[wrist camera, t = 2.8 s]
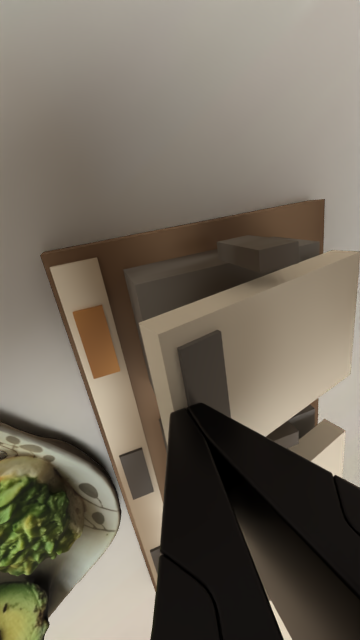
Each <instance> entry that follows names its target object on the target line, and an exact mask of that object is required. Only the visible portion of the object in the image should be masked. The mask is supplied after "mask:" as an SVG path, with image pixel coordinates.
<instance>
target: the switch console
mask: <svg viewBox="0 0 360 640" xmlns="http://www.w3.org/2000/svg"><path fill="white" fill-rule="evenodd" d="M324 207H325V199H322V200H309V201H304V202H299V203H293V204H288V205H283V206H278V207H273V208H268V209H263V210H257V211H252V212H247V213H242V214H237V215H232V216H227V217H221V218H216V219H211V220H206V221H201V222H196V223H191V224H185V225H180V226H175V227H170V228H165V229H160V230H155V231H150V232H144V233H139V234H134V235H129V236H124V237H119V238H114V239H108V240H103V241H98V242H93V243H88V244H83V245H78V246H72V247H67V248H62V249H57V250H52V251H47V252H43V253H42V254H41V255H40V256H41V259H42V262H43V265H44V268H45V270H46V273H47V276H48V279H49V282H50V285H51V288H52V291H53V294H54V297H55V300H56V303H57V305H58V308H59V311H60V314H61V317H62V320H63V323H64V326H65V329H66V332H67V335H68V338H69V340H70V343H71V346H72V349H73V352H74V355H75V358H76V361H77V364H78V367H79V370H80V373H81V376H82V378H83V381H84V384H85V387H86V390H87V393H88V396H89V399H90V402H91V405H92V408H93V411H94V413H95V416H96V419H97V422H98V425H99V428H100V431H101V434H102V437H103V440H104V443H105V446H106V448H107V451H108V454H109V457H110V460H111V463H112V466H113V469H114V472H115V475H116V478H117V481H118V483H119V486H120V489H121V492H122V495H123V498H124V501H125V504H126V507H127V510H128V513H129V516H130V518H131V521H132V524H133V527H134V530H135V533H136V536H137V539H138V542H139V545H140V548H141V551H142V553H143V556H144V559H145V562H146V565H147V568H148V571H149V574H150V577H151V580H152V583H153V586H154V589H155V591H156V587H157V576H158V563H159V556H160V539H161V526H162V513H163V499H164V486H165V472H166V459H167V442H166V438H165V434H164V429H163V425H162V421H161V417H160V412H159V408H158V404H157V399H156V395H155V391H154V387H153V382H152V378H151V374H150V369H149V365H148V361H147V356H146V352H145V348H144V344H143V339H142V335H141V331H140V326H139V323H140V322H142V321H145V320H148V319H150V318H153V317H156V316H158V315H161V314H163V313H166V312H169V311H171V310H174V309H177V308H179V307H182V306H185V305H187V304H190V303H193V302H195V301H198V300H201V299H203V298H206V297H209V296H211V295H214V294H217V293H219V292H222V291H225V290H227V289H230V288H233V287H235V286H238V285H241V284H243V283H246V282H249V281H251V280H254V279H257V278H259V277H262V276H265V275H267V274H270V273H273V272H275V271H278V270H281V269H283V268H286V267H289V266H291V265H294V264H298V263H299V262H302V261H305V260H307V259H310V258H313V257H315V256H318V255H321V254H323V238H324ZM317 425H318V399H316V400H315V401H313V402H312V403H311V404H309V405H308V406H307V407H305V408H304V409H303V410H301V411H300V412H298V413H297V414H296V415H294V416H293V417H292V418H290V419H289V420H288V421H286V422H285V423H284V424H282V425H281V426H279V427H278V428H277V429H275V430H274V431H273V432H271V433H270V434H269V435H267V436H266V437H267V438H269V439H271V440H272V441H274V442H276V443H278V444H280V445H282V446H283V447H285V448H287V449H288V448H290V447H292V446H295V445H297V444H299V439H300V438H302V437H303V436H304V435H305V434H307V433H308V432H309V431H310V430H312V429H313V428H314V427H315V426H317Z"/></svg>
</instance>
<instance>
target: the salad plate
mask: <svg viewBox="0 0 360 640" xmlns="http://www.w3.org/2000/svg"><path fill="white" fill-rule="evenodd" d="M0 450H1V451H3V452H6V453H7V456H6V457H5V459H2V460H0V640H44V636H45V633H46V631H47V629H48V628H49V621H48V618H49V617H50V615H51V614H52V613H53V612H54V611H55V610H56V608H57V607H58V606H59V604H60V603H61V602H62V601H63V599H64V598H65V597H66V596H67V595H68V594H69V592H70V591H71V590H72V589H73V587H74V586H75V585H76V584H77V583H78V582H79V581H80V580H81V579H82V578H83V577H84V576H85V575H86V573H87V572H88V571H89V569H90V568H91V567H92V566H93V565H94V564H95V563H96V562H97V561H98V560H99V558H100V557H101V556H102V555H103V553H104V552H105V551H106V549H107V548H108V547H109V545H110V544H111V542H112V540H113V539H114V537H115V535H116V533H117V531H118V529H119V525H120V520H121V508H120V503H119V498H118V494H117V491H116V488H115V486H114V484H113V482H112V480H111V479H110V477H109V476H108V474H107V472H106V471H105V470H104V469H103V468H102V467H101V466H100V465H99V464H97V463H96V462H95V461H94V460H92V459H91V458H90V457H89V456H88V455H86V454H85V453H84V452H82V451H81V450H80V449H78V448H76V447H74V446H72V445H71V444H69V443H67V442H64V441H61V440H57V439H53V438H44V437H39V436H36V435H33V434H29V433H27V432H24V431H21V430H18V429H16V428H14V427H11V426H9V425H7V424H4V423H1V422H0Z"/></svg>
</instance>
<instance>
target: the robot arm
mask: <svg viewBox="0 0 360 640" xmlns="http://www.w3.org/2000/svg"><path fill="white" fill-rule="evenodd" d="M264 588H265V590H266V592H267V594H268V596H269V598H270V600H271V601H272V603H273V605H274V607H275V609H276V611H277V612H278V614H279V616H280V618H281V620H282V622H283V624H284V625H285V627H286V629H287V631H288V633H289V635H290V637H291V638H292V640H360V487H358V486H356V485H354V484H352V483H350V482H348V481H346V480H345V479H343V478H341V477H339V476H337V475H334V476H333V474H332V473H331V472H330V471H328V470H326V469H324V468H322V467H320V466H318V465H317V464H315V463H313V462H311V461H309V460H307V459H306V458H304V457H302V456H300V455H298V454H296V453H295V452H293V451H291V450H289V449H287V448H285V447H283V446H282V445H280V444H278V443H276V442H274V441H272V440H271V439H269V438H267V437H265V436H263V435H261V434H259V433H258V432H256V431H254V430H252V429H250V428H248V427H247V426H245V425H243V424H241V423H239V422H237V421H236V420H234V419H232V418H230V417H228V416H226V415H224V414H223V413H221V412H219V411H217V410H215V409H213V408H212V407H210V406H208V405H206V404H204V403H201V402H200V403H197V404H194V405H191V406H188V407H187V409H185V408H182V409H179V410H176V411H174V412H171V413H170V419H169V432H168V446H167V459H166V472H165V486H164V499H163V513H162V526H161V539H160V556H159V563H158V576H157V587H156V597H155V606H154V616H153V626H152V633H151V639H150V640H284V638H283V636H282V633H281V631H280V628H279V626H278V623H277V620H276V618H275V615H274V613H273V610H272V608H271V605H270V602H269V600H268V597H267V595H266V592H265V590H264Z"/></svg>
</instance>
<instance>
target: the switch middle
mask: <svg viewBox="0 0 360 640" xmlns="http://www.w3.org/2000/svg"><path fill="white" fill-rule="evenodd" d="M345 433H346V431H345V430H344V429H342V428H340V427H338V426H336V425H335V424H333V423H331V422H329V421H327V420H326V419H324V420H323V421H322V422H320V423H319V424H318V425H317V426H315V427H314V428H313V429H312V430H310V431H309V432H308V433H307V434H305V435H304V436H303V437H302V438H300V439H299V444H297V445H295V446H292V447H290V448H288V449H289V450H291V451H293V452H295V453H296V454H298V455H300V456H302V457H304V458H306V459H307V460H309V461H311V462H313V463H315V464H317V465H318V466H320V467H322V468H324V469H326V470H328V471H330V472H331V473H332V474H333V476H334V475H337V476H339V477H341V478H342V470H343V458H344V446H345Z"/></svg>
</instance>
